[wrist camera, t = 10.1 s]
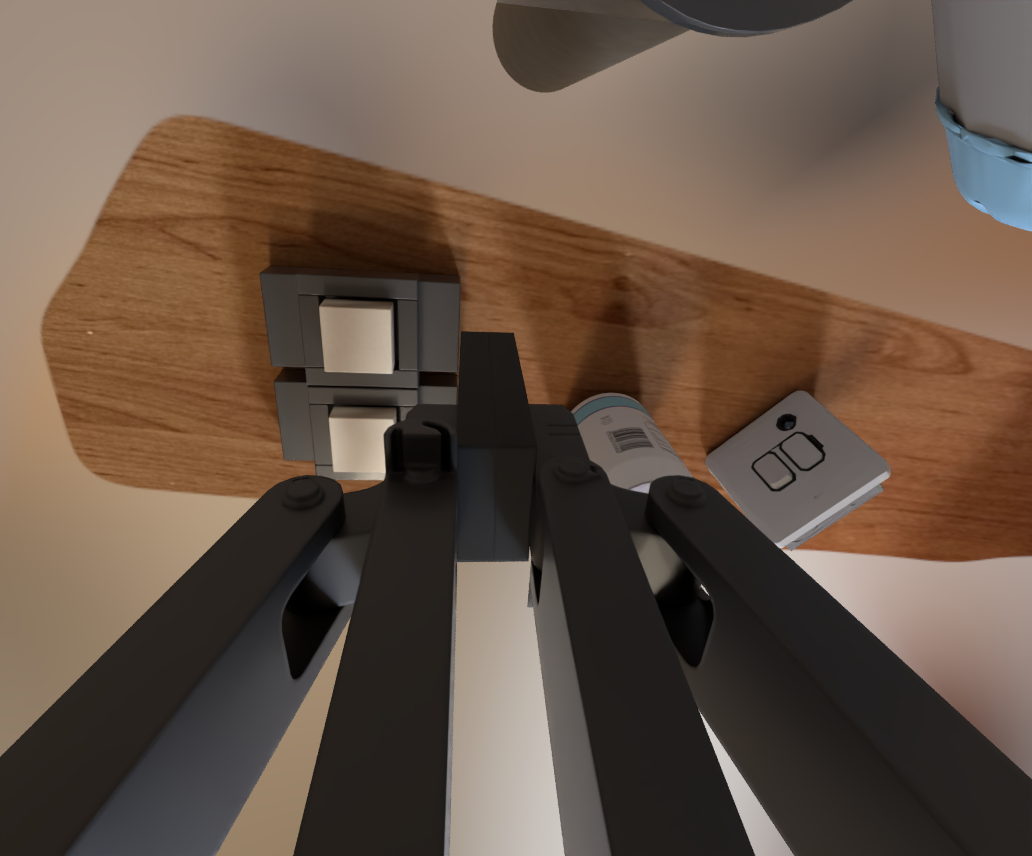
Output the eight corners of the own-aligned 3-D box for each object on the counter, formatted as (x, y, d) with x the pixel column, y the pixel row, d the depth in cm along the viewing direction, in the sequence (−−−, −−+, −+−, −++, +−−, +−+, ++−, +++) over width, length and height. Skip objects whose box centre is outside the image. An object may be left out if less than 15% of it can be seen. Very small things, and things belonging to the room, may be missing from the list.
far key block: (457, 368, 40) (458, 391, 36) (455, 453, 43) (455, 481, 39) (281, 362, 38) (263, 385, 35) (292, 450, 42) (277, 479, 38)
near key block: (460, 268, 37) (461, 282, 33) (457, 367, 40) (458, 389, 36) (268, 257, 35) (248, 271, 32) (281, 361, 38) (263, 384, 35)
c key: (393, 301, 34) (390, 309, 32) (395, 364, 36) (392, 374, 34) (324, 298, 33) (318, 306, 32) (329, 361, 35) (324, 372, 34)
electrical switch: (799, 383, 43) (885, 450, 35) (824, 424, 46) (910, 494, 38) (698, 457, 45) (758, 535, 38) (728, 492, 48) (790, 571, 40)
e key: (396, 407, 37) (393, 418, 35) (397, 459, 39) (395, 473, 37) (333, 405, 36) (328, 417, 35) (337, 458, 38) (332, 472, 37)
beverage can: (543, 451, 44) (573, 552, 33) (582, 374, 41) (627, 456, 30) (620, 477, 46) (671, 579, 35) (662, 404, 43) (731, 491, 32)
